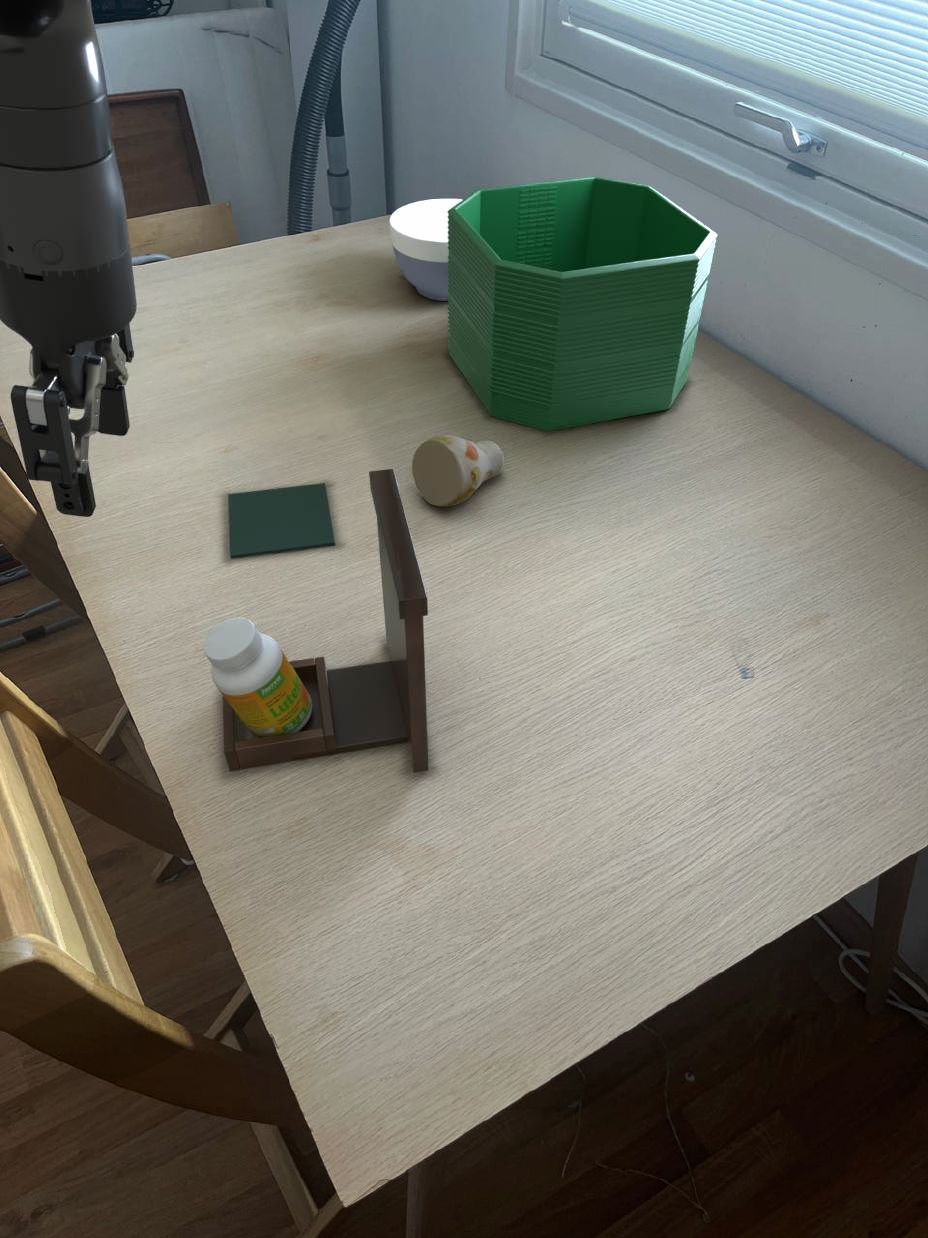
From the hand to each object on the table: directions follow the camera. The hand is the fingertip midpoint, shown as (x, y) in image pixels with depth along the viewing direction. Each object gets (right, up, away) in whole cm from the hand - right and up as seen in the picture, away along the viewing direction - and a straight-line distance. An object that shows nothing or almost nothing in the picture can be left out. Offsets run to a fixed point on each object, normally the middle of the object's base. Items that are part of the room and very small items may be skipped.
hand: (96, 470), depth 59 cm
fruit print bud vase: (+24, +4, +34) cm, 42 cm away
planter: (+37, +22, +52) cm, 68 cm away
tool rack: (+13, -18, +12) cm, 25 cm away
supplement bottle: (+10, -18, +11) cm, 23 cm away
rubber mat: (+6, 0, +30) cm, 30 cm away
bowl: (+22, +38, +69) cm, 82 cm away
